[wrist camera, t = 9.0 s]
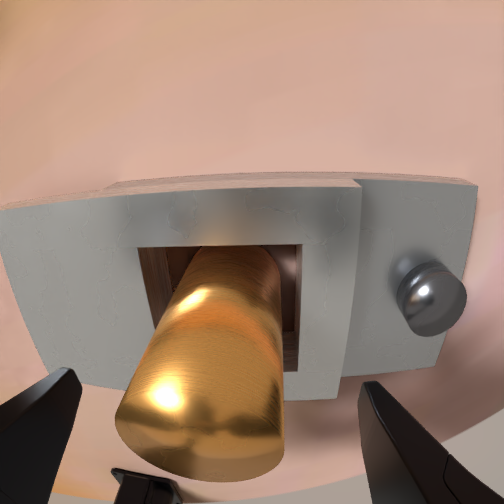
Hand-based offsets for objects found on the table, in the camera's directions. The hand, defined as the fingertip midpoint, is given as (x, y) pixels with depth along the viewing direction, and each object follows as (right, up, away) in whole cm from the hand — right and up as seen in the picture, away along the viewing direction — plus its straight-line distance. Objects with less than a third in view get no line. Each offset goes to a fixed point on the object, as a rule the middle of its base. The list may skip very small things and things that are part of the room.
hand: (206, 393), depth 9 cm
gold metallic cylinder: (0, +3, +7) cm, 7 cm away
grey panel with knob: (0, +3, +7) cm, 7 cm away
